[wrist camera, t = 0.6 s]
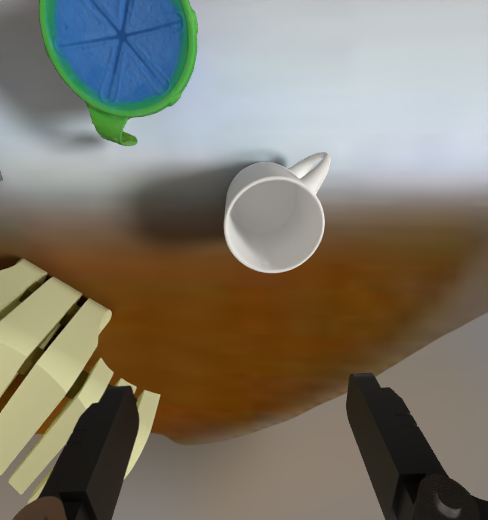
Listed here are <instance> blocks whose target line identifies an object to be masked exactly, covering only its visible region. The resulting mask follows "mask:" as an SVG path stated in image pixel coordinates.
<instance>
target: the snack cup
mask: <svg viewBox="0 0 488 520" xmlns="http://www.w3.org/2000/svg"><path fill="white" fill-rule="evenodd" d="M39 20H40V26H41V32H42V37H43V40H44V45H45V49H46V52H47V54H48V56H49V57H50V59H51V61H52V63H53V65H54V67H55V69H56V70H57V72H58V73H59V75H60V76H61V78H62V79H63V80H64V82H65V83H66V84H67V85H68V86H69V87H70V88H71V89H72V91H73V92H75V93H76V94H77V95H78V96H79V97H80V98H81V99H83V100H84V101H85V102H86V104H87V106H88V108H89V112H90V116H91V118H92V123H93V124H94V126H95V128H96V130H97V132H98V133H99V134H100V135H101V137H102V138H104V139H106V140H110V141H112V142H115V143H118V144H120V145H124V146H132V145H135V144H136V143H137V139H136V137H134V136H132V135H130V134H128V133H125V132H122V131H123V128H124V126H125V124H126V122H127V120H128V119H130V118H133V117H143V116H147V115H151V114H154V113H157V112H159V111H161V110H163V109H164V108H166V107H168V106H172V105H173V104H175V103H176V102H177V101H178V99H179V98H180V97H181V94H182V92H183V90H184V89H185V87H186V86H187V83H188V81H189V79H190V77H191V75H192V72H193V69H194V65H195V60H196V54H197V32H198V24H197V19H196V14H195V11H194V10H193V9H192V8H191V6H190V3H189V0H39Z"/></svg>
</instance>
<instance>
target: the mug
mask: <svg viewBox="0 0 488 520" xmlns="http://www.w3.org/2000/svg"><path fill="white" fill-rule="evenodd" d="M322 157H323V159H322V160H321V161H320V162H319V163H318V164H317V165H316V166H315V167H314V168H313V169H312V170H311V171H310V172H309V173H307V172H308V171H309V170H310V168H311V167H312V166H313V165H314V164H315V162H316V161H317V160H319V159H320V158H322ZM330 162H331V159H330V155H329V154H328V153H325V152H321V153H317V154H314V155H311V156H309V157H307V158H305V159H303V160H302V161H300V162H298V163H297V164H295V165H294V166H292V167H290V168H288V169H287V168H285V167H283V166H281V165H279V164H276V163H272V162H259V163H254V164H252V165H249V166H247V167H245V168H244V169H242V170H241V171H240V172H239V173H238V174H237V175H236V176H235V177H234V179H233V180H232V182H231V184H230V186H229V189H228V192H227V197H226V206H225V216H224V235H225V239H226V242H227V245H228V247H229V249H230V251H231V252H232V254H233V255H234V256H235V257H236V258H237V259H238V260H239V261H240V262H241V263H242V264H244V265H246V266H247V267H249V268H251V269H254V270H256V271H260V272H265V273H279V272H284V271H288V270H291V269H293V268H295V267H297V266H299V265H301V264H302V263H303V262H305V261H306V260H307V259H308V258H309V257H310V256H311V255H312V254H313V253H314V252H315V250H316V249H317V247H318V245H319V243H320V241H321V239H322V236H323V232H324V223H325V220H324V212H323V208H322V206H321V203H320V201H319V200H318V198H317V196H316V193H317V191H318V190H319V188H320V186H321V184H322V183H323V181H324V179H325V177H326V175H327V173H328V170H329V167H330Z"/></svg>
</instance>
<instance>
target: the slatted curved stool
mask: <svg viewBox="0 0 488 520" xmlns="http://www.w3.org/2000/svg"><path fill="white" fill-rule="evenodd" d="M46 277H47V272H45V271H44V270H42V269H40V268H39V267H37V266H35V265H34V264H32V263H30V262H29V261H27V260H25V259H21V260H19V261H18V262H17V263H16V264H15V265H14V266H12V267H9V268H7V269H3V270H0V398H1V396H2V395H3V394H4V392H5V391H6V389H7V388H8V387H9V385H10V384H11V383H12V381H13V380H14V379H15V378H16V376H17V375H18V374H19V373H20V374H22V375H24V376H26V378H25V379H24V381H23V382H22V383H21V385H20V386H19V388H18V389H17V390H16V392H15V393H14V395H13V396H12V397H11V399H10V400H9V402H8V403H7V404H6V406H5V407H4V409H3V410H2V411H1V413H0V475H2V474H3V472H4V471H5V470H6V469H7V467H8V466H9V465H10V464H11V462H12V461H13V460H14V459H15V457H16V456H17V455H18V454H19V452H20V451H21V450H22V448H23V447H24V446H25V445H26V444H27V442H28V441H29V440H30V439H31V437H32V436H33V435H34V434H35V432H36V431H37V430H38V429H39V427H40V426H41V425H42V424H43V422H44V421H45V420H46V419H47V417H48V416H49V415H50V414H51V412H52V411H53V410H54V409H55V407H56V406H57V405H58V404H59V402H60V401H61V400H62V399H63V397H64V396H66V397H68V398H70V399H69V400H68V402H67V403H66V405H65V406H64V408H63V409H62V410H61V412H60V413H59V414H58V416H57V417H56V419H55V420H54V421H53V423H52V424H51V425H50V427H49V428H48V429H47V431H46V432H45V433H44V434H43V436H42V437H41V438H40V440H39V441H38V442H37V443H36V445H35V446H34V447H33V449H32V450H31V451H30V452H29V454H28V455H27V456H26V457H25V459H24V460H23V461H22V462H21V464H20V465H19V466H18V467H17V468H16V470H15V471H14V473H13V474H12V476H11V478H10V479H9V481H8V482H9V483H10V484H11V485H12V486H13V487H14V488H15V489H16V490H17V491H18V492H19V493H20V494H21V495H22V494H23V492H24V491H25V490H26V489H27V488H28V487H29V485H30V484H31V483H32V482H33V481H34V480H35V478H36V477H37V476H38V475H39V474H40V473H41V471H42V470H43V469H44V468H45V467H46V466H47V465H48V464H49V462H50V461H51V460H52V459H53V458H54V457H55V455H56V454H57V453H58V452H59V451H60V450H61V449H62V447H63V446H64V445H65V444H66V443H67V441H68V439H69V437H70V435H71V433H73V429H74V427H75V425H76V423H77V421H78V419H79V417H80V416H81V415H82V414H83V413H84V411H85V410H86V409H87V408H88V407H89V406H90V405H91V404H92V403H100V402H101V400H102V398H103V396H104V394H105V391H106V390H107V388H108V387H112V385H110V384H108V383H109V381H110V379H111V377H112V375H113V373H114V372H112V371H111V370H110V369H109V368H108V367H107V365H106V364H105V363H104V361H103V360H102V358H100V359H99V360H98V362H97V363H96V364H95V365H94V367H93V368H92V369H91V370H90V372H89V373H87V372H85V371H83V368H84V367H85V365H86V363H87V362H88V360H89V358H90V357H91V355H92V354H93V352H94V350H95V349H96V347H97V345H98V335H99V334H100V332H101V331H102V330H103V328H104V327H105V326H106V325H107V323H108V322H109V321H110V319H111V316H112V313H111V311H110V310H109V309H107V308H106V307H104V306H102V305H100V304H99V303H97V302H95V301H94V300H92V299H90V298H89V299H88V300H87V301H86V302H85V303H84V305H83V306H82V307H80V306H78V305H76V303H77V302H78V301H79V299H80V298H81V296H82V293H80V292H79V291H77V290H75V289H74V288H72V287H70V286H69V285H67V284H65V283H64V282H62V281H60V280H59V279H57V278H55V277H52V278H50V279H49V280H48V281H46V282H45V283H44V284H43V282H44V281H45V279H46ZM42 284H43V285H42ZM61 325H63V326H65V328H64V329H63V330H62V332H61V333H60V334H59V335H58V336H57V338H56V339H55V340H54V341H53V343H52V344H51V345H50V346H49V347H48V349H47V350H46V351H45V350H44V348H45V347H46V345H47V344H48V343H49V341H50V340H51V338H52V337H53V336H54V334H55V333H56V331H57V330H58V329H59V327H60V326H61ZM115 386H131V387H132V390H133V393H135V390H136V386H134V385H132V384H130V383H128V382H126V381H125V380H123V379H120V380H119V381H118V382H117V384H116V385H115ZM159 398H160V395H159V394H156V393H152V392H149V391H146V390H144V391H143V392H142V393H141V395H140V396H139V397H138V398H137V399H136V398H135V401H136V405H137V409H138V413H139V430H138V434H137V437H136V441H135V444H134V447H133V450H132V454H131V457H130V460H129V464H128V467H127V470H126V473H125V477H124V479H125V478H126V476H127V475H128V474H129V472H130V471H131V469H132V468H133V466H134V465H135V463H136V461H137V459H138V458H139V456H140V454H141V452H142V450H143V448H144V446H145V443H146V441H147V439H148V436H149V434H150V431H151V428H152V424H153V420H154V417H155V413H156V409H157V406H158V402H159ZM53 468H54V467H53ZM53 468H52V469H51V471H50V472H49V473H48V474H47V475H46V476H45V478H44V479H43V480H42V481H41V482H40V484H39V485H38V486H37V487H36V488H35V489H34V491H33V493H32V495H31V497H30V499H29V501H28V504H29V503H31V502H33V501H34V500H36V499H37V498H38V497H39V495H40V493H41V492H42V490H43V488H44V486H45V484H46V482H47V480H48V478H49V476H50V474H51V472H52V470H53Z"/></svg>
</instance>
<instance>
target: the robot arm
mask: <svg viewBox="0 0 488 520" xmlns="http://www.w3.org/2000/svg"><path fill="white" fill-rule="evenodd" d="M346 410H347V416H348V420H349V423H350V426H351V428H352V431H353V434H354V437H355V439H356V442H357V445H358V447H359V450H360V453H361V456H362V458H363V461H364V464H365V466H366V469H367V472H368V474H369V477H370V480H371V482H372V485H373V488H374V490H375V493H376V496H377V499H378V501H379V504H380V507H381V509H382V512H383V515H384V517H385V520H488V501H485V500H482V499H478V498H476V497H474V496H472V495H470V493H469V492H468V491H467V490H466V489H465V488H464V487H463V486H462V485H460V484H459V483H458V482H456V481H455V480H453V479H451V478H449V476H448V475H447V474H446V472H445V471H444V469H443V467H442V466H441V464H440V462H439V461H438V459H437V457H436V456H435V454H434V452H433V450H432V449H431V447H430V445H429V444H428V442H427V440H426V439H425V437H424V435H423V433H422V432H421V430H420V429H419V427H417V423H416V422H415V420H414V418H413V417H412V416H411V415H410V411H409V410H408V408H407V406H406V405H405V403H404V401H403V400H402V398H401V397H399V396H398V395H397V394H396V393H395V392H394V391H393V390H392V389H391V388H389V387H388V388H381V387H380V385H379V384H378V382H377V380H376V378H375V376H374V375H373V374H372V373H361V374H351V375H350V377H349V384H348V393H347V401H346ZM138 430H139V413H138V409H137V405H136V401H135V397H134V393H133V390H132V387H131V386H112V387H108V388H107V390H106V391H105V394H104V396H103V398H102V400H101V402H100V403H92V404H91V405H90V406H89V407H88V408H87V409H86V410H85V411H84V413H83V414H82V415H81V416H80V417H79V419H78V421H77V423H76V425H75V427H74V429H73V433H71V435H70V437H69V439H68V441H67V445H66V446H65V447H64V449H63V451H62V453H61V454H60V456H59V458H58V460H57V462H56V464H55V466H54V468H53V470H52V472H51V474H50V476H49V478H48V480H47V482H46V484H45V486H44V488H43V490H42V492H41V493H40V495H39V497H38V498H37V499H36V500H34V501H33V502H31V503H29V504H28V505H26V506H25V507H24V508H23V509H22V510H21V511H19V513H18V514H16V516H15V517H14V518H13V519H12V520H111V519H112V516H113V513H114V509H115V506H116V503H117V499H118V496H119V493H120V490H121V487H122V483H123V480H124V477H125V473H126V470H127V467H128V464H129V460H130V457H131V454H132V450H133V447H134V444H135V441H136V437H137V434H138Z"/></svg>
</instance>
